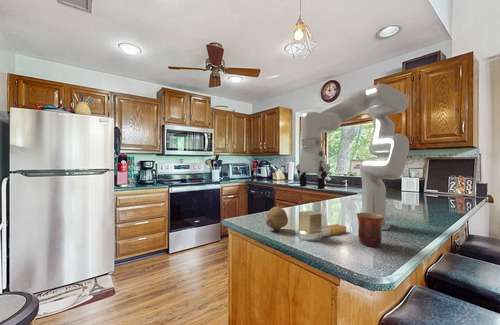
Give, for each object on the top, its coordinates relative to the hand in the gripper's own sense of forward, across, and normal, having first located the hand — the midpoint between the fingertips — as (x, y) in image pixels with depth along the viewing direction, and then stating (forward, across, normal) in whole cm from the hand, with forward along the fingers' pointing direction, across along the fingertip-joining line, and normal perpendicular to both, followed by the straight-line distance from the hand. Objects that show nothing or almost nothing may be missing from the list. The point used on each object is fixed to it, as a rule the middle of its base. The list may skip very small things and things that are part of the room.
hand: (311, 187), depth 87 cm
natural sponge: (+19, +12, +8) cm, 24 cm away
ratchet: (+19, -1, -4) cm, 20 cm away
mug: (+20, -17, -10) cm, 28 cm away
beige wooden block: (+16, -1, +2) cm, 17 cm away
